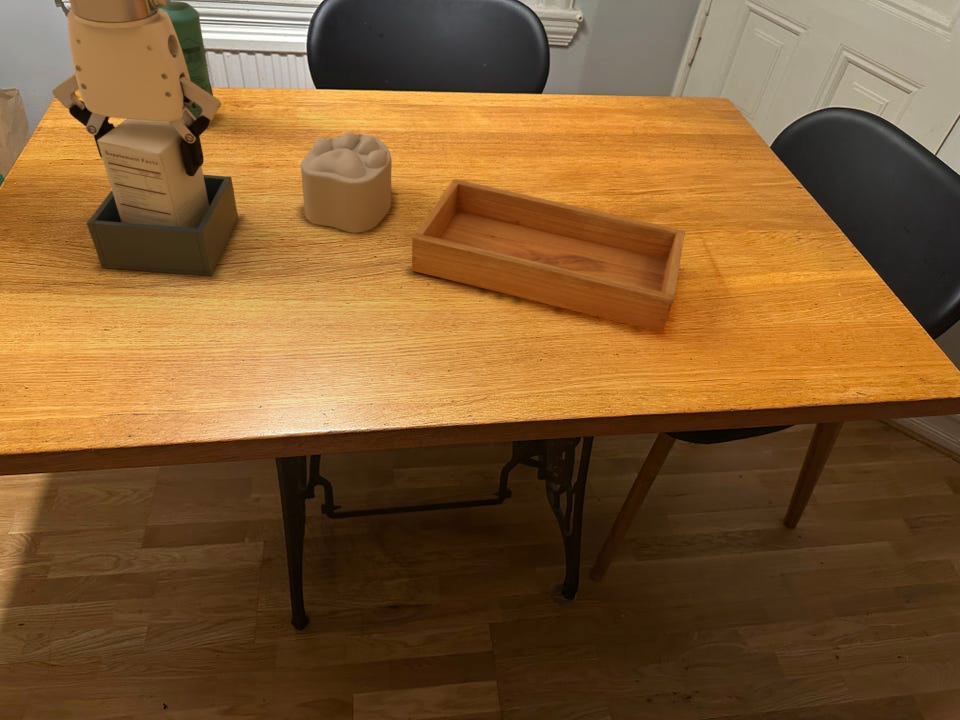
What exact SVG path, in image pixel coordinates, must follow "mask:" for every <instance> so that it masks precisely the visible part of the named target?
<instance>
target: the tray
mask: <svg viewBox="0 0 960 720" xmlns="http://www.w3.org/2000/svg"><path fill="white" fill-rule="evenodd" d="M685 235H686V231H685V230H682V229H679V228H674V227H669V226H665V225H661V224H657V223H653V222H647V221H642V220H638V219H634V218H629V217H625V216H620V215H616V214H611V213H607V212H603V211H598V210H594V209H589V208H584V207H580V206H577V205H572V204H567V203H563V202H558V201H554V200H549V199H545V198H541V197H536V196H531V195H528V194H523V193H519V192H514V191H509V190H505V189H502V188H498V187H492V186H488V185H483V184H480V183H475V182H470V181H466V180H463V179H456V178H453V179H452V180H451V182H450V183H449V184H448V186H447V187H446V188H445V190H444V192H443V193H442V194H441V195H440V197H439V198H438V200H436V203H435V204H434V206H433V207H432V208H431V210H430V211H429V212H428V214H427V215H426V217H425V218H424V220H423V221H422V222H421V224H420V226H419V227H418V228H417V229H416V231H415V232H414V233H413V235H412V239H411V245H412V246H411V271H413V272H415V273H420V274H425V275H428V276H433V277H437V278H440V279H445V280H449V281H452V282H457V283H461V284H465V285H469V286H473V287H477V288H482V289H486V290H490V291H494V292H498V293H502V294H506V295H510V296H514V297H517V298H521V299H524V300H525V299H526V300H529V301H535V302H538V303H541V304H546V305H550V306H553V307H559V308H562V309H566V310H570V311H573V312H574V311H575V312H578V313H583V314H587V315H590V316H594V317H598V318H602V319H606V320H610V321H613V322H614V321H615V322H619V323H623V324H627V325H631V326H635V327H638V328H643V329H646V330H650V331H654V332H658V333H663V332H664V329H665V327H666V324H667V321H668V319H669V315H670V312H671V309H672V306H673V303H674V300H675V294H676V288H677V284H678V283H677V282H678V277H679V271H680V265H681V259H682V254H683V253H682V252H683V247H684V240H685Z"/></svg>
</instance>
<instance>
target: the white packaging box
mask: <svg viewBox="0 0 960 720" xmlns="http://www.w3.org/2000/svg"><path fill="white" fill-rule="evenodd" d="M182 140H183V138H182V136H181V135H180V134H179V133H178V132H177V131H176V130H175V128H174V127H173V126H172V125H171V124H170V123H169V122H162V121H149V120H138V119H126V118H125V119H124V120H123V121H122V122H121V123H119V124H118V125H116V126H115V128H114V129H112V130H111V131H110V132H108V133H107V134H106V135H104V136H103V137H101V138H100V139H99V140H97V142H98V145H99V149H100V152H101V156H102V158H101V159H102V162H103V165H104V168H105V172H106V175H107V179H108V182H109V186H110V189H111V190H112V192H113V196H114V199H115V202H116V205H117V209H118V212H119V215H120V219H121V222H122V223H134V224H147V225H160V226H173V227H186V228H197V229H198V227H199V225H200V223H201V221H202V219H203V218H204V216H205V214H206V212H207V210H208V208H209V202H208V197H207V192H206V187H205V182H204V177H203V175H204V173H203V167H202V166H200V167H199V169H198V170H197V172H196V174H195V175H194V176H188V175H187V174H186V170H185V166H184V161H183V156H182V152H181V147H180V143H181V142H182Z"/></svg>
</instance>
